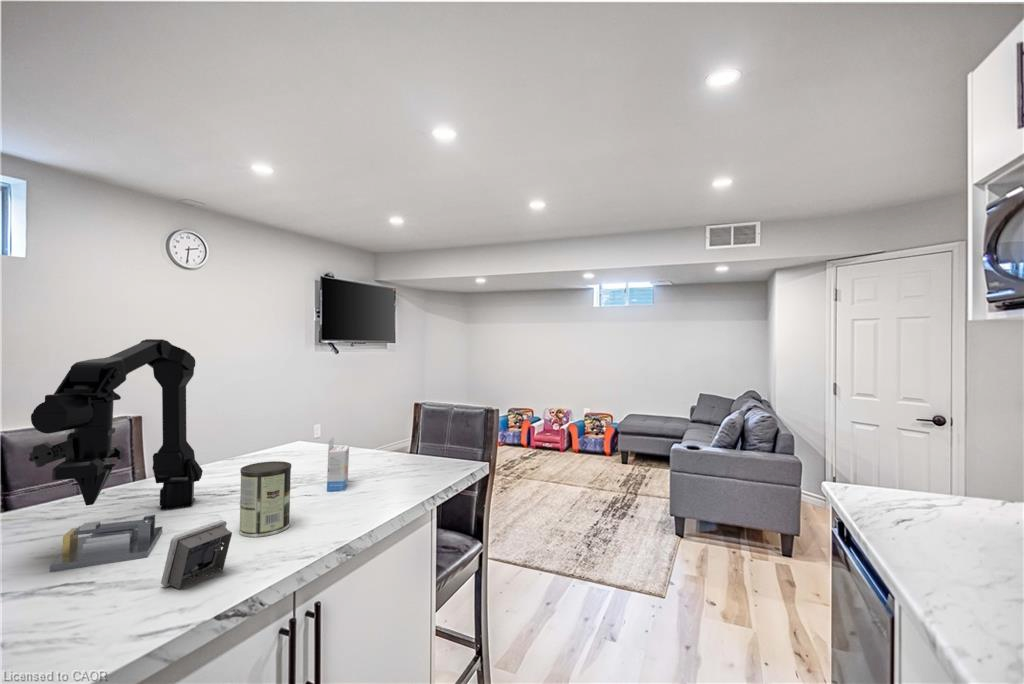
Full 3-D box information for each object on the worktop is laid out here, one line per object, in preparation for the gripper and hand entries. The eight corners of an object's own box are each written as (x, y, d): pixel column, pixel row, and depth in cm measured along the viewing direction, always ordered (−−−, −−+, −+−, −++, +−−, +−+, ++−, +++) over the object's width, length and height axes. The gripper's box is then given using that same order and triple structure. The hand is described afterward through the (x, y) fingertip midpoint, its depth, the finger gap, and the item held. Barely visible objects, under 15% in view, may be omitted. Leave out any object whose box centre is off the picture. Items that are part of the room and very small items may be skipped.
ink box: (344, 491, 134) (346, 440, 134) (326, 492, 133) (327, 440, 133) (348, 483, 142) (349, 435, 143) (331, 483, 141) (332, 435, 142)
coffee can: (265, 518, 112) (267, 459, 112) (299, 524, 108) (301, 463, 109) (227, 533, 102) (229, 469, 102) (263, 540, 98) (265, 473, 99)
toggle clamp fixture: (162, 532, 102) (163, 508, 102) (147, 557, 90) (148, 530, 90) (78, 543, 95) (79, 517, 96) (49, 572, 83) (51, 542, 83)
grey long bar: (152, 523, 97) (153, 515, 97) (149, 528, 94) (149, 519, 94) (78, 532, 91) (79, 523, 91) (73, 537, 89) (74, 528, 89)
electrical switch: (213, 565, 87) (218, 516, 87) (232, 573, 85) (237, 523, 85) (159, 588, 78) (164, 534, 78) (178, 598, 76) (184, 542, 76)
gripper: (58, 420, 96) (54, 496, 95) (13, 435, 79) (9, 527, 79) (126, 418, 101) (123, 490, 101) (98, 431, 85) (94, 517, 84)
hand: (89, 504), depth 91 cm, fingers closed
